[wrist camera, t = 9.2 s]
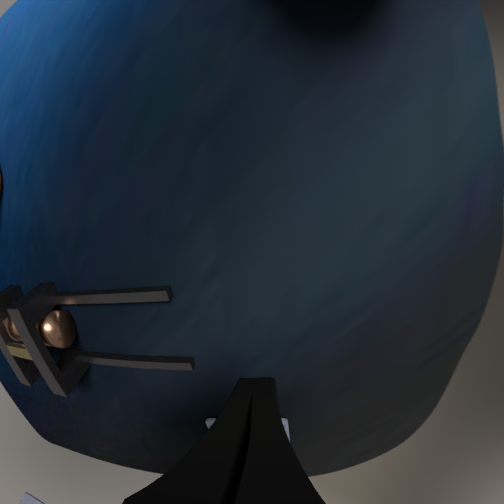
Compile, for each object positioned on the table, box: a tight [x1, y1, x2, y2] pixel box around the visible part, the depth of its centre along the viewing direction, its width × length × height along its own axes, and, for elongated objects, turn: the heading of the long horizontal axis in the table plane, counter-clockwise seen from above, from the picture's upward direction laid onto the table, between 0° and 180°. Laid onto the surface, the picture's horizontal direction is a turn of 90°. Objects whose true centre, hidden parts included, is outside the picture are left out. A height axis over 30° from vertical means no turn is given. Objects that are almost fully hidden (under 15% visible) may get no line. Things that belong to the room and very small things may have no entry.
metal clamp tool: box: [0, 282, 195, 397], centre depth 21 cm, size 9×20×5 cm, turn 99°
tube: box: [3, 310, 76, 348], centre depth 22 cm, size 10×3×3 cm
